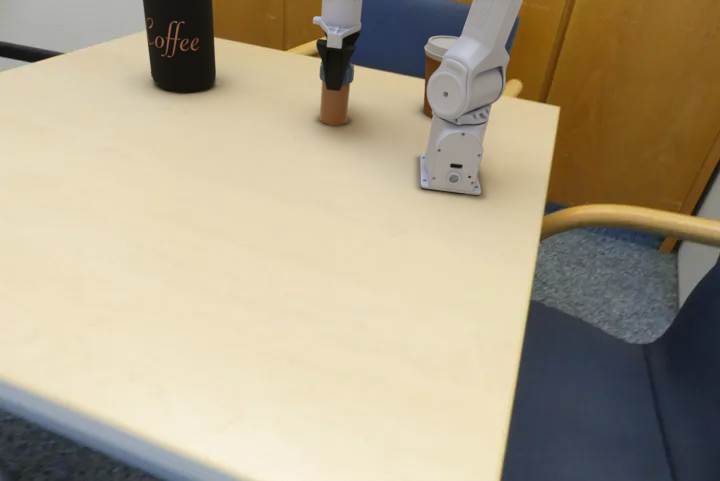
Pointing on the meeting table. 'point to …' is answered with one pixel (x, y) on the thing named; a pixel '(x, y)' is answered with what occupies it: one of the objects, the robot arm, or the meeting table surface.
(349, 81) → the lid
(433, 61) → the disposable coffee cup
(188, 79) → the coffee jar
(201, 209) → the meeting table surface
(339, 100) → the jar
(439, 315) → the meeting table surface
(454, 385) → the meeting table surface
